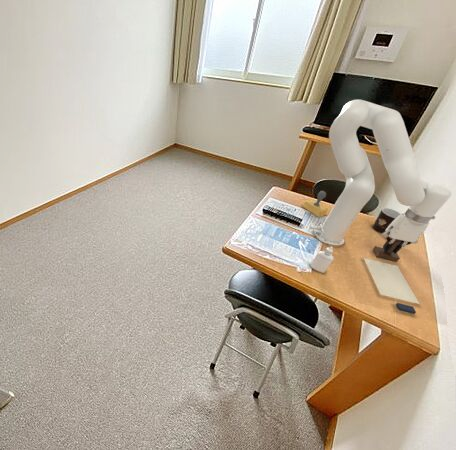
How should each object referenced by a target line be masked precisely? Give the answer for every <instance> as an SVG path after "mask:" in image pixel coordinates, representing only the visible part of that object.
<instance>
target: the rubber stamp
mask: <svg viewBox="0 0 456 450" xmlns="http://www.w3.org/2000/svg"><path fill="white" fill-rule="evenodd" d="M326 196H327V192H326V191H324V190H320V191H319V192H318V193H317V199H316V200H314V199H309V200H305V202H304V204H302V208H304V209H305V210H307V211H308V212H309V213H311V214H313V215H315V216H316V217H318V218H320V217H323V216H326V214H327V213H328V210H329V209H328V208H327V207H326V206H324V205H322V204H321V202H322V200H324V199H325V198H326Z"/></svg>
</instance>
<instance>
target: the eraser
mask: <svg viewBox="0 0 456 450" xmlns="http://www.w3.org/2000/svg"><path fill="white" fill-rule="evenodd" d="M395 306H396V308H397V311H400V312H404V313H408V314H413V315H415V314H416V313H417V311H416V309H415V307H414V306H412V305H408V304H404V303H401V302H396V303H395Z"/></svg>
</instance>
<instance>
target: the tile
mask: <svg viewBox="0 0 456 450" xmlns="http://www.w3.org/2000/svg"><path fill="white" fill-rule="evenodd" d="M363 260H364V262H365V265H366V266H367V268H368V271H369V273H370V275H371V277H372V279H373V281H374V284H375V286H376V288H377V290H378V292H379V295H381V296H384V297H385V296H386V297H390V298H392V299H398V300H402V301H406V302H409V303H414V304H418V305H420V302H419V300H418V299H417V297H416V295H415V293H414V291H413V290H412V288H411V287H410V285H409V283H408V282H407V279H406V277H404V275H403V273H402V271H401V269H400V268H399V266H398V265H395V264H392V263H391V264H390V263H387V262H382V261H378V260H374V259H369V258H365V257H363Z"/></svg>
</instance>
